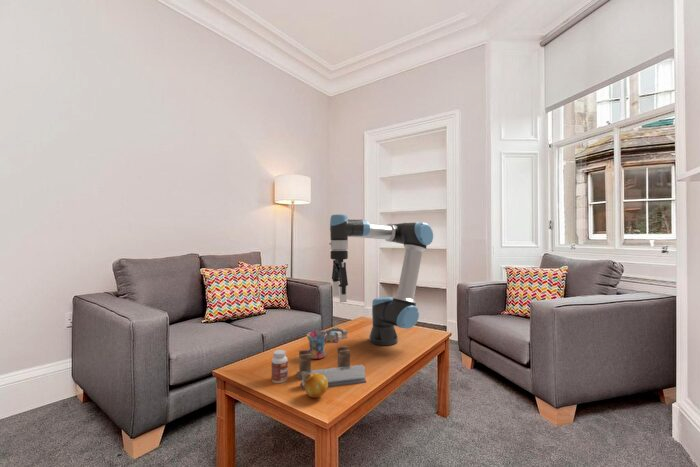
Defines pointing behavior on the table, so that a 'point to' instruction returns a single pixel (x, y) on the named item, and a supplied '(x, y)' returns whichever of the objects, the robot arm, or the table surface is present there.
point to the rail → (338, 374)
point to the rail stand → (342, 362)
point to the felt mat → (344, 383)
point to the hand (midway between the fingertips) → (339, 298)
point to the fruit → (316, 385)
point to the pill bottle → (279, 366)
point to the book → (335, 334)
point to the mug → (317, 344)
